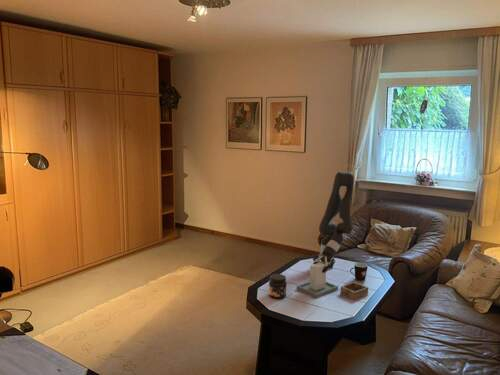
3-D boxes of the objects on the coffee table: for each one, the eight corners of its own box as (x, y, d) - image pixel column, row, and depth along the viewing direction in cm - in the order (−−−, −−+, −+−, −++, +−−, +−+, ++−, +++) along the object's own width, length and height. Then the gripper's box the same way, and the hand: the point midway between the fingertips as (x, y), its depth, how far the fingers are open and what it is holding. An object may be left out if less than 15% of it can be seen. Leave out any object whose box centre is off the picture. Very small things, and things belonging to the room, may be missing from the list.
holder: (340, 293, 246) (340, 286, 245) (353, 288, 253) (353, 281, 253) (354, 299, 238) (355, 292, 237) (367, 294, 245) (368, 287, 245)
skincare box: (319, 284, 256) (320, 262, 254) (326, 288, 251) (326, 264, 248) (309, 287, 252) (309, 264, 249) (315, 290, 246) (316, 267, 244)
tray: (296, 289, 251) (296, 285, 251) (318, 281, 264) (318, 278, 263) (315, 298, 239) (316, 294, 239) (337, 289, 251) (338, 286, 251)
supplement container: (265, 296, 240) (265, 277, 238) (274, 290, 249) (275, 272, 247) (280, 301, 234) (281, 281, 232) (289, 295, 243) (290, 276, 241)
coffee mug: (365, 277, 272) (366, 262, 270) (368, 282, 264) (369, 267, 262) (348, 276, 273) (348, 262, 272) (349, 281, 265) (350, 266, 263)
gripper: (320, 242, 258) (306, 263, 254) (337, 248, 247) (323, 270, 243) (325, 249, 263) (312, 269, 258) (342, 255, 252) (329, 277, 247)
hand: (317, 270), depth 250 cm, fingers open, 8 cm apart
